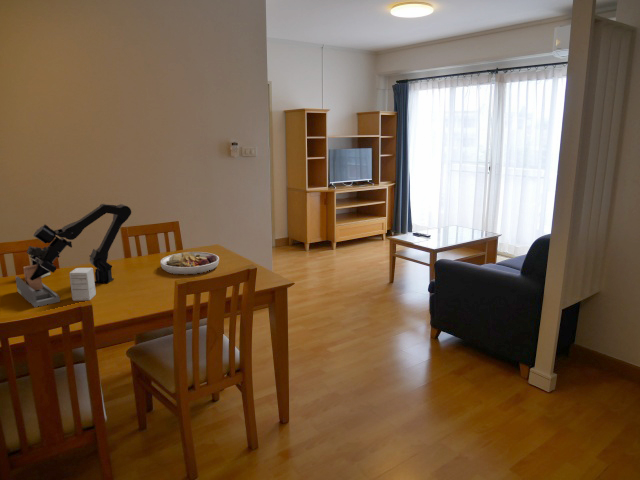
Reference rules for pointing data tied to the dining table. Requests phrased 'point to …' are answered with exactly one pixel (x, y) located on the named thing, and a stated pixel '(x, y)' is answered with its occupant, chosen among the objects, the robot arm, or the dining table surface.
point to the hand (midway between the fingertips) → (29, 278)
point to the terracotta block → (28, 272)
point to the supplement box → (82, 284)
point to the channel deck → (36, 294)
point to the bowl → (189, 262)
